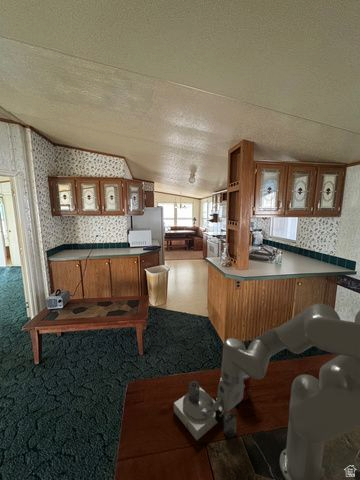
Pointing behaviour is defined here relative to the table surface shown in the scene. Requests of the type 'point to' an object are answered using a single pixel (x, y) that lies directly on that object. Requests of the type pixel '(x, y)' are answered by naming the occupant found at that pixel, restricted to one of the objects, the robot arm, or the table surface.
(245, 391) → the canned food
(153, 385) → the table surface
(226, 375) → the robot arm
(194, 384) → the spacer
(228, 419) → the spacer
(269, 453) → the table surface
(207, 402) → the pan
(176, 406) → the scale
